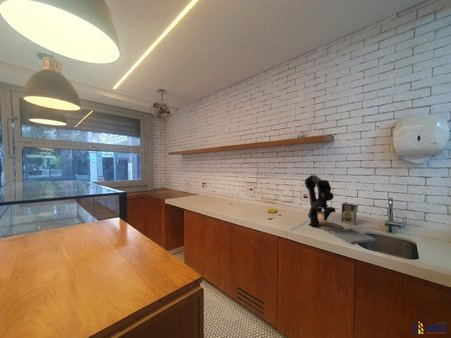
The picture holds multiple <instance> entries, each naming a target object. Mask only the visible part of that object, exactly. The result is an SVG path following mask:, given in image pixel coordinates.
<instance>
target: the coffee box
mask: <svg viewBox="0 0 451 338" xmlns="http://www.w3.org/2000/svg"><path fill="white" fill-rule="evenodd" d="M357 208H358V205H357V204H352V203H348V202H343V203H342V204H341V223H342V224H346V225H350V226H354V225H355V226H356V224H357Z"/></svg>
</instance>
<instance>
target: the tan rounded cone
mask: <svg viewBox="0 0 451 338" xmlns="http://www.w3.org/2000/svg"><path fill="white" fill-rule="evenodd" d="M323 211H324V210H322V211H319V212H318V221H319V223H320V222H322V223H326V222H328V219H327V220H324V213H323Z"/></svg>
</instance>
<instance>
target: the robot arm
mask: <svg viewBox="0 0 451 338" xmlns="http://www.w3.org/2000/svg"><path fill="white" fill-rule="evenodd" d="M304 186H305V189H307V190H308V194H309V201H310V209H309V212H308V214H307V218H308V219H309V221H310V223H308V225H309V226H310V227H312V228H320V227H321V225H320V221H318V212H319V211H323V213H324V220H327V221H328V218H329V216H330V215H331V213H336V208H335V207H333V206H329V205H328V202H329V201H332V200H333V199H334V194H333V193H332V192H331V191H332V187H331V184H330V182H329V180H326V179H321V178H319V176H317V175H315V174H314V175H309V176H308V177H306V178H305V180H304ZM315 188H317V193H318V194H317V195H318V196H317V195H316V190H315Z"/></svg>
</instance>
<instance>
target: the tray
mask: <svg viewBox="0 0 451 338" xmlns="http://www.w3.org/2000/svg"><path fill="white" fill-rule="evenodd" d="M329 234H331V235H333V236H334V237H336V238H339V239H340V238H341V240H342V239H343V240H342V241H344V240H345V241H344V242H346V243H347V244H350V245H357V244H369V243H375V242H376V238H374V237H372V236H370V235H367V234H365V233H363V232H360V231H358V230H355V229H353V228H345V229H334V230H333V229H332V230H329Z"/></svg>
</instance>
